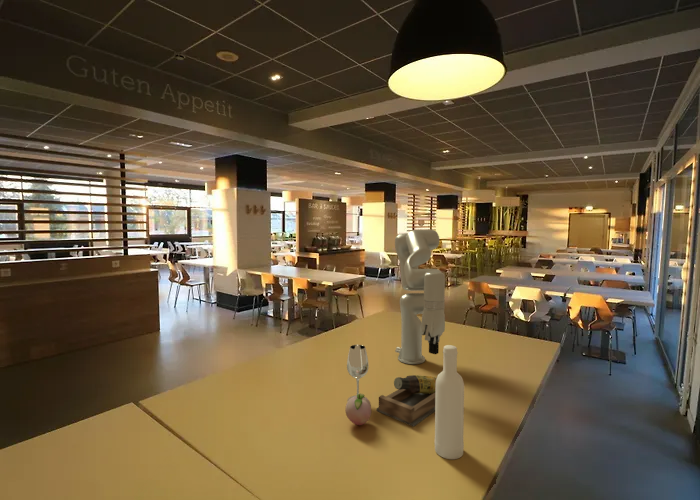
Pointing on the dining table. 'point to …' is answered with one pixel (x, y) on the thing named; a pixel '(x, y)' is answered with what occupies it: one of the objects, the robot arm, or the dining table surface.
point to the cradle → (407, 406)
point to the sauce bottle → (416, 384)
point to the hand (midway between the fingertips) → (433, 353)
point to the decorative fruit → (358, 409)
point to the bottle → (449, 408)
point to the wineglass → (357, 363)
